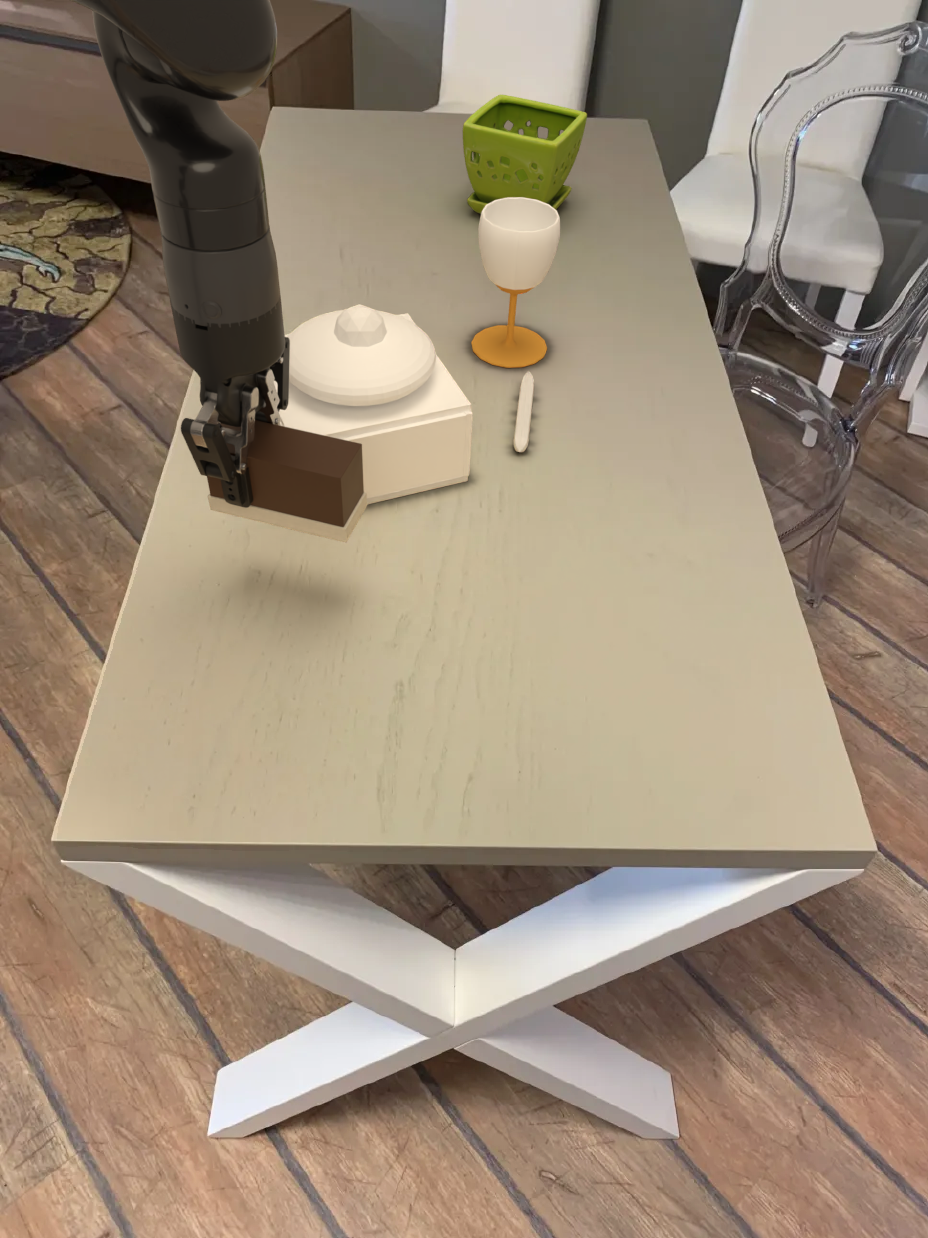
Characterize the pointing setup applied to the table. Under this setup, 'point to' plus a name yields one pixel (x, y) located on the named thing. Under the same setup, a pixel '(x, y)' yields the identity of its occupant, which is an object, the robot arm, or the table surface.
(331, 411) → the white lidded box
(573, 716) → the table surface
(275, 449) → the brown block cream base
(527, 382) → the cream rounded rod
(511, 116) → the flower pot
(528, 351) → the cup
